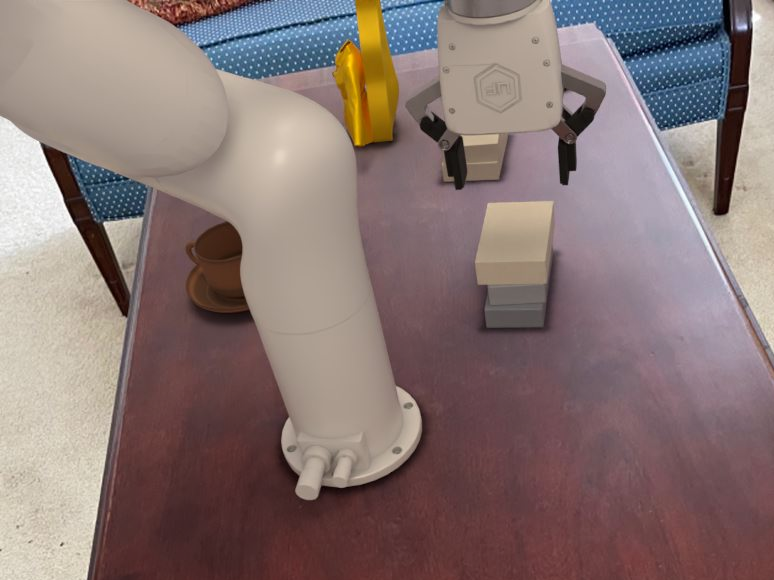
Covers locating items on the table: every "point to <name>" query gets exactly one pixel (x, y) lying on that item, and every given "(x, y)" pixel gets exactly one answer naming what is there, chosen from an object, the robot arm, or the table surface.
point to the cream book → (515, 243)
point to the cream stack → (481, 157)
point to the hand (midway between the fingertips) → (513, 179)
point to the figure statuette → (368, 79)
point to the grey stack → (517, 304)
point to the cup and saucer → (217, 270)
